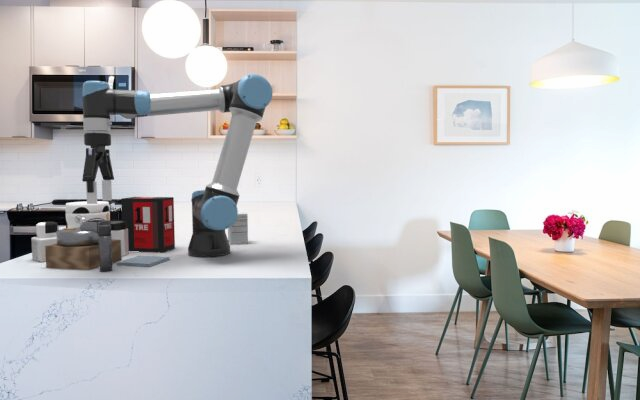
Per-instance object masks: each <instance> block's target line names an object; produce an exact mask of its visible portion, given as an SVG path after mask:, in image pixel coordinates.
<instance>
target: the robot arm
mask: <svg viewBox="0 0 640 400" xmlns="http://www.w3.org/2000/svg"><path fill="white" fill-rule="evenodd" d="M272 99H273V88H272V86H271V83H270V82H269V80H267V79H266V77H264V76H263V75H260V74H255V73H252V74H246V75H244V76H243V77H242V78H240V79H239V80H236V81H235V82H232V83H230V84H225V85H218V86H217V87H216V88H210V89H197V90H185V91H184V90H183V91H170V92H169V91H168V92H157V93H156V92H155V93H150V92H149V91H145V90H139V89H138V90H133V89H131V90H130V89H113V88H111V87H110V84H109V83H108V82H106V81H101V80H86V81H84V82H83V84H82V114H83V119H82V121H83V123H82V124H83V131H84V134H83V138H84V139H83V143H84V145H85V146H87V147H86V148H85V159H84V165H83V171H82V182H85V185H86V186H85V187H86V188H85V190H86V201H87V204H97V201H98V186H97V181H96V177H97V175H98V174H97V173H98V170H99V171H100V174H101V177H102V180H101V192H102V193H101V196H102V199H101V201H112V200H113V197H112V196H113V193H112V192H113V191H112V190H113V189H112V181H114V180H115V177H114V171H113V168H112V167H113V166H112V161H111V156H110V149H109V148H106V147H109V146H112V135H111V134H110V132H111V131H112V130H111V126H112V125H113V123H112V121H111V114H113V115H120V116H121V117H123V118H124V119H127V120H132V119H135V118H145V117H154V116H166V115H177V114H178V115H179V114H189V113H201V112H211V111H213V112H214V111H219V112H220V113H231V117H230V120H229V124H228V128H227V131H226V133H225V137H224V141H223V144H222V148H221V150H220V154H219V157H218V160H217V161H218V162H217V165H216V168H215V171H214V175H213V178H212V182H210V183H208V184H206V186H205V189H200V190H195V191H193V192H192V194H191V201H190V202H191V215H192V216H191V218H192V224H191V225H192V233H191V237H190V241H189V244H188V248H187V254H188V255H189V256H192V257H198V258H199V257H200V258H204V257H205V258H207V257H209V258H210V257H220V256H221V257H222V256H225V255H226V256H227V255H228V254H230V253H231V244H230V243H229V241H228V235H227V233H226V229H227V230H228V228H229V227H230V226H232V225H233V223H234V222H235V221H236V218H237V214H238V212H239V210H238V207H237V206H238V203H239V202H238V201H239V199H240V194H239V192H238V186H239V183H240V179H241V176H242V173H243V169H244V165H245V163H246V159H247V155H248V151H249V148H250V146H251V141H252V138H253V136H254V131H255V128H256V125H257V123H258V122H260V121H262V119H263V117H264V113H265V111H266V107H267V106H268V105H269V104H270V103H271V101H272Z"/></svg>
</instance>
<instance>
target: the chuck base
mask: <svg viewBox="0 0 640 400" xmlns="http://www.w3.org/2000/svg"><path fill="white" fill-rule="evenodd" d="M111 243H112V264H113V262H114V263H117V262H119V260H120V261H122V256H121V240H111ZM45 252H46V262H45V267H46V268H47V269H48V268H49V269H63V268H67V270H68V269H69V270H82V269H84V270H85V271H87V270H89V271H90V269H91V270H93V269H94V270H95V269H97V268H100V263H99V244H94V245H83V246H62V245H58V244H57V243H56V244H52V245H47V246H45ZM116 261H117V262H116Z"/></svg>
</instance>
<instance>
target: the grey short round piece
mask: <svg viewBox="0 0 640 400" xmlns="http://www.w3.org/2000/svg"><path fill="white" fill-rule="evenodd" d="M110 221H111V219H110V220H91V221H87V218H86V217H82V218H80V227H77V228H66V227H65V228H62V229H58V231H56V235H57V244H58V245H62V246H83V245H94V244H99V237H98V226H100V225H111V224H110Z"/></svg>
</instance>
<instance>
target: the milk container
mask: <svg viewBox="0 0 640 400" xmlns="http://www.w3.org/2000/svg"><path fill="white" fill-rule="evenodd" d="M110 209H111V208H110V203H109V201H108V200H97V204H87V200H86V201H73V202H72V201H71V202H66V203H65V209H64V211H65V222H66V225H65V228H77V227H80V218H82V217H86V218H87V221H91V220H110V221H111V212H110Z"/></svg>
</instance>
